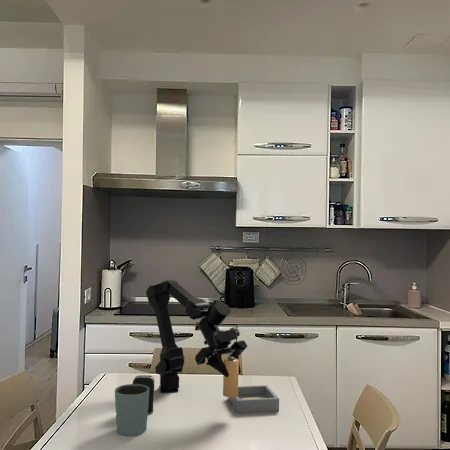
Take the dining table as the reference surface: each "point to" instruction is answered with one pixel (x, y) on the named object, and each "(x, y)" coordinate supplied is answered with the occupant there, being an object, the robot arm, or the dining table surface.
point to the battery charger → (150, 383)
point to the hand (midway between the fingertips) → (233, 374)
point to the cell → (231, 377)
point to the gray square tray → (255, 399)
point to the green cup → (131, 409)
